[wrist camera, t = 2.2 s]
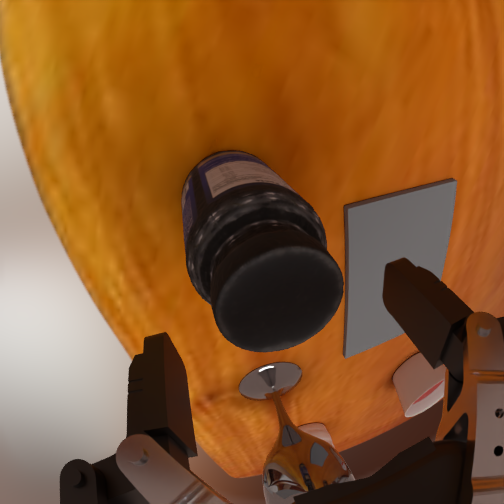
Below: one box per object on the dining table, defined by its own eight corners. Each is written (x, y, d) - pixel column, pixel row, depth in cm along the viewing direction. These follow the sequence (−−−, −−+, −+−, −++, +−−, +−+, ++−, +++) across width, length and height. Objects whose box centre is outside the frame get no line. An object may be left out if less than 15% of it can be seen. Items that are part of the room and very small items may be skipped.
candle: (392, 360, 36) (415, 395, 31) (440, 336, 37) (464, 366, 32) (380, 393, 41) (398, 424, 35) (425, 371, 42) (444, 398, 36)
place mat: (343, 205, 22) (347, 208, 21) (452, 178, 23) (456, 180, 22) (343, 354, 32) (345, 358, 31) (427, 317, 33) (429, 320, 32)
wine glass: (256, 409, 34) (291, 519, 21) (220, 383, 29) (254, 520, 17) (315, 379, 33) (366, 490, 21) (288, 348, 29) (348, 487, 16)
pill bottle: (235, 251, 22) (282, 379, 13) (162, 207, 19) (156, 334, 10) (293, 184, 20) (389, 280, 11) (221, 128, 17) (278, 185, 8)
